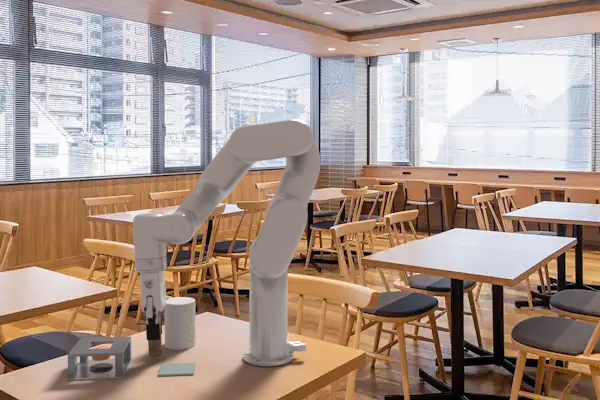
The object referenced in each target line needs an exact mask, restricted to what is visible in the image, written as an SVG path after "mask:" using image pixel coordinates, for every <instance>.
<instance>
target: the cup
mask: <svg viewBox="0 0 600 400" xmlns="http://www.w3.org/2000/svg"><path fill="white" fill-rule="evenodd" d="M163 312H164V347H165V348H166V349H170V350H175V351H176V350H186V349H187V350H188V349H191V348H193V347H194V345H196V340H197V339H196V338H197V337H196V334H197V333H196V328H197V327H196V299H195V298H194V297H187V296H176V297H168V298H166V305H165V308H164V310H163ZM190 347H191V348H190Z"/></svg>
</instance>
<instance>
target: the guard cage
mask: <svg viewBox="0 0 600 400" xmlns="http://www.w3.org/2000/svg"><path fill="white" fill-rule="evenodd" d="M92 345H110V346H109V348H104V349H93V348H91V347H92ZM92 356H110V357H111V356H112V357H113V356H114V358H109V359H106V360H102V361H95V360H93V359H89V357H92ZM78 358H79V363H78ZM132 360H133V359H132V336H105V337H103V336H99V337H80V339H79V340H78V341H77V342H76V344H75V345H74V346H73V347H72V349H71V350H70V351H69V352H68V353H67V377H68V378H67V379H68V381H82V380H83V381H85V380H111V379H112V380H114V379H116V378H117V379H123V378H124V376H125V374H126V372H127V370H128V368H129V366H130V364H131V362H132Z"/></svg>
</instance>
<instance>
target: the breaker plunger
mask: <svg viewBox="0 0 600 400" xmlns="http://www.w3.org/2000/svg"><path fill="white" fill-rule="evenodd" d="M104 348H110V346H102V345H101V346H96V347H93V348H92V349H104ZM106 359H111V356H91V360H95V361H102V360H106Z"/></svg>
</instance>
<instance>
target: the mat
mask: <svg viewBox="0 0 600 400" xmlns="http://www.w3.org/2000/svg"><path fill="white" fill-rule="evenodd" d="M195 368H196V362H181V363H180V362H179V363H178V362H176V363H175V362H174V363H173V362H172V363H170V362H169V363H162V364H161V366H160V369H159V372H158V377H172V376H175V377H177V375H178V376H194V374H195Z"/></svg>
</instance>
